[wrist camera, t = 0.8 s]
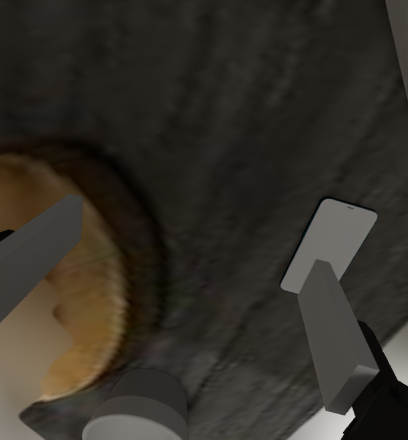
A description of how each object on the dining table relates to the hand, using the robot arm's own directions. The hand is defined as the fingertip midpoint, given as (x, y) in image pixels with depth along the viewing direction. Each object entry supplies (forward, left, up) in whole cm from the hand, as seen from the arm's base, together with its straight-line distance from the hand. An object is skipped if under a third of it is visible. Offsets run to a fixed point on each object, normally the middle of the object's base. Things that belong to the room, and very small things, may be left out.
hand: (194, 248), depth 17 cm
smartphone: (+19, +7, -24) cm, 32 cm away
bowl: (+38, -34, -24) cm, 57 cm away
